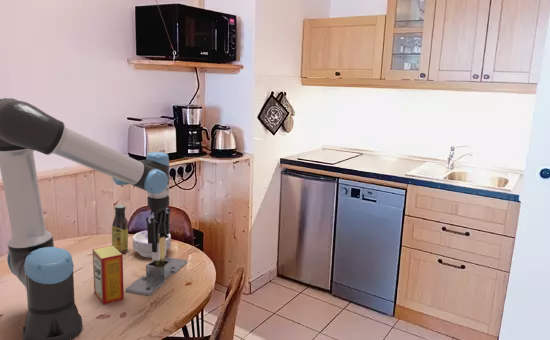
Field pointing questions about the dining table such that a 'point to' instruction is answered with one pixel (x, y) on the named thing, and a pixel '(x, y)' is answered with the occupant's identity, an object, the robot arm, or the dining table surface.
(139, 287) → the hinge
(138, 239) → the paper bowls
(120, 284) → the baking soda box
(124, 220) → the sauce bottle
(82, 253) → the dining table surface
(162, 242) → the hinge pin
